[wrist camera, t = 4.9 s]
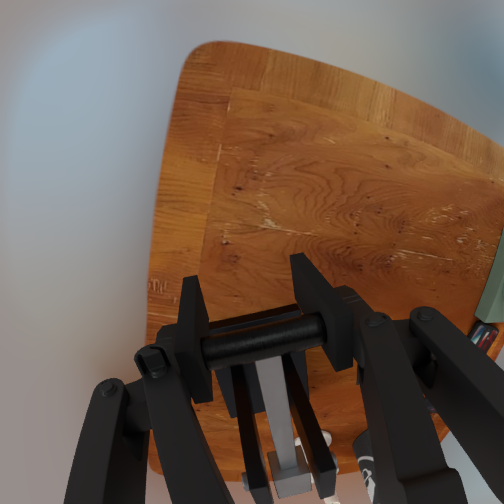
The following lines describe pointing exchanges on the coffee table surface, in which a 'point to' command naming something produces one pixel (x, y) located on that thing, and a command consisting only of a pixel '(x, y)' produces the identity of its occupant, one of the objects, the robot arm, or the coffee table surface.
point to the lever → (272, 384)
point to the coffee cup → (366, 464)
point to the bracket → (251, 401)
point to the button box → (493, 290)
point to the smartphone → (477, 343)
